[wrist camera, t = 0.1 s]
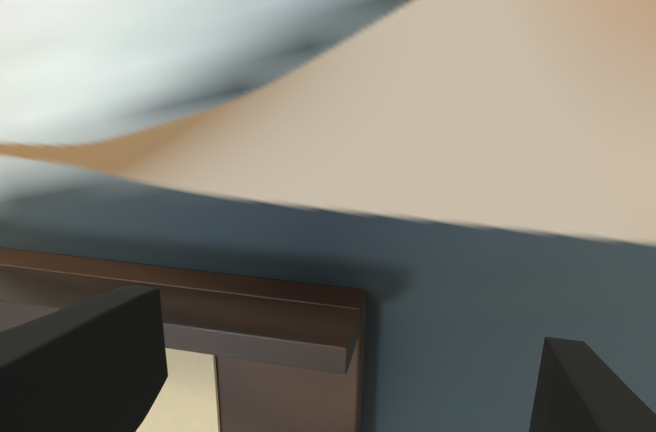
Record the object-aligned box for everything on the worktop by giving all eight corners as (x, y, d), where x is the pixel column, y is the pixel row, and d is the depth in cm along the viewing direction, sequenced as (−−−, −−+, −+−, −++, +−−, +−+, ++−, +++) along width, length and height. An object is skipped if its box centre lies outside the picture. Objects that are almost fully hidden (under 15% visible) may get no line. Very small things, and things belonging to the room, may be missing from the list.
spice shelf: (359, 494, 25) (340, 579, 21) (3, 426, 28) (-65, 488, 25) (367, 289, 21) (347, 348, 18) (-40, 242, 25) (-127, 283, 21)
